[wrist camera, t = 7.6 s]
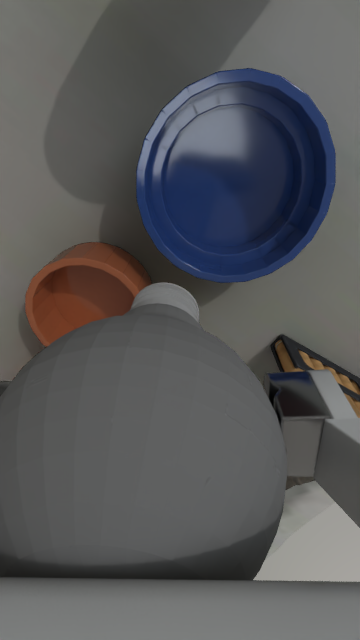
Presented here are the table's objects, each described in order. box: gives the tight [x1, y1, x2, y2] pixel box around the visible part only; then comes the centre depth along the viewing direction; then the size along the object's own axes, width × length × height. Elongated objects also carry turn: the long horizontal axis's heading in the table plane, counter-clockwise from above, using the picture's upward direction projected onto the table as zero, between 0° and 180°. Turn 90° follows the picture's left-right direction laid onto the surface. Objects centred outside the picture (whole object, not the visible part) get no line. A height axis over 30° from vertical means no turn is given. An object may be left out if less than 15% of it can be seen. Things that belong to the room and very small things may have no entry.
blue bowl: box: [136, 68, 335, 283], centre depth 23 cm, size 13×13×5 cm
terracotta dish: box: [26, 242, 152, 347], centre depth 29 cm, size 10×10×4 cm
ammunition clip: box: [271, 335, 360, 418], centre depth 28 cm, size 11×2×12 cm, turn 59°
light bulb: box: [0, 282, 287, 580], centre depth 9 cm, size 6×6×10 cm
